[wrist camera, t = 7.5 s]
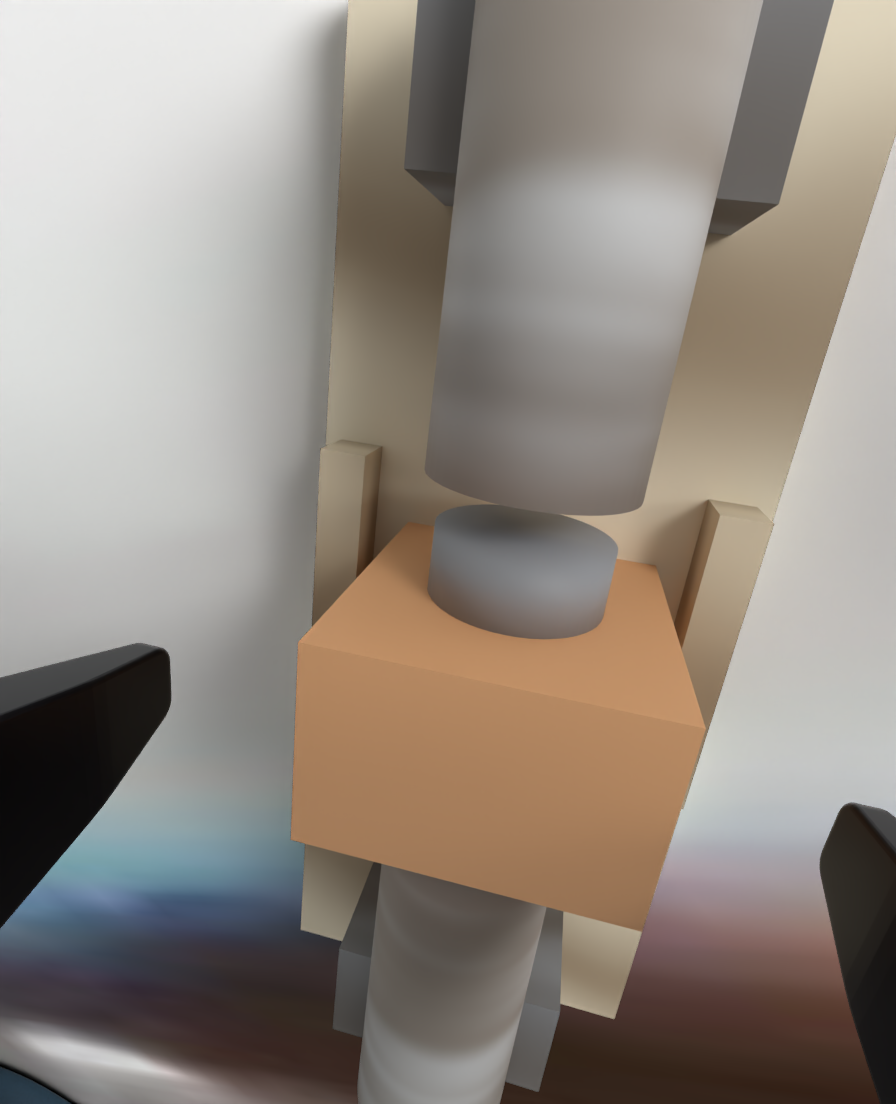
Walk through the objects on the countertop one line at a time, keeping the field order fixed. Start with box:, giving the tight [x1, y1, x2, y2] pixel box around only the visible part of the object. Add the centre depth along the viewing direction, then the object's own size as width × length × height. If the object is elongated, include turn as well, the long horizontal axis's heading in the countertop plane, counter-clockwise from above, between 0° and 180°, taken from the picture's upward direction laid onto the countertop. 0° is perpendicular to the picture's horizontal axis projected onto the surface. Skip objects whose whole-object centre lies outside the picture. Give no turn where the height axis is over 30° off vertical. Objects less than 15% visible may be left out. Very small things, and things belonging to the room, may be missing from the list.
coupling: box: [291, 504, 706, 932], centre depth 10 cm, size 5×5×5 cm
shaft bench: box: [301, 0, 896, 1104], centre depth 11 cm, size 20×8×5 cm, turn 172°
